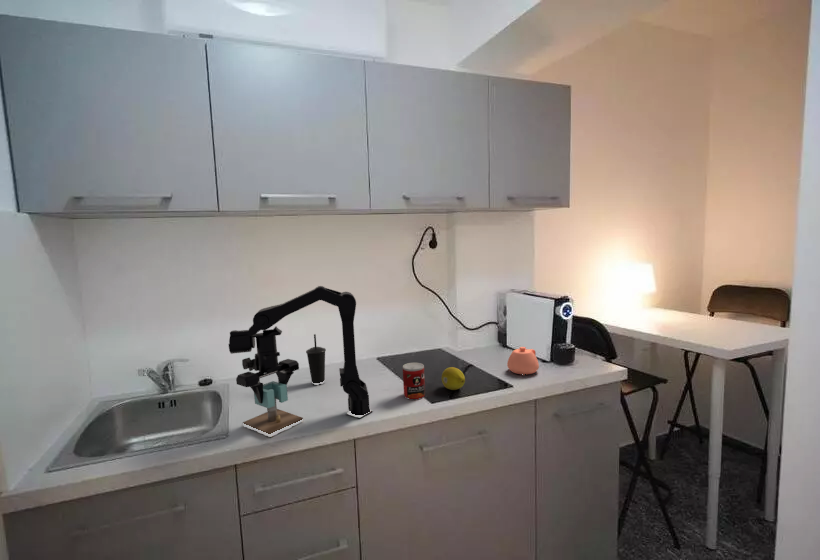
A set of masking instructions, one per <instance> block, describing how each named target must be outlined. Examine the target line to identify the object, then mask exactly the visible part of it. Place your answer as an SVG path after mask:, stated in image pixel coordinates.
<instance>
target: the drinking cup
mask: <svg viewBox="0 0 820 560" xmlns="http://www.w3.org/2000/svg"><path fill="white" fill-rule="evenodd" d="M316 336H317V335H316V333H314V334H313V339H314V340H313V342H314V346H312V347H311V348H308V349H306V351H305V353H306V355H307V362H308V367H309V372H310V379H311V383H312V382H313V383H320V382H323V381H324V380H325V379H326V378H325V377H326V376H325V375H326V373H325V371H326V348H325V347H322V346H317V337H316ZM325 381H326V380H325Z"/></svg>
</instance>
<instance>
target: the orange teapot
mask: <svg viewBox="0 0 820 560" xmlns="http://www.w3.org/2000/svg"><path fill="white" fill-rule="evenodd" d="M536 353H537V352H536V350H535V349H534V348H530V349H528V348H526V347H525V346H520V347H519V348H516V349H514V350H512V351H511V354H510V355H509V356H508V360H507V365H506V366H507V368H508V370H509V371H511V372H512V373H514V374H517V375H521V374H523V375H522V376H526V375H532V374H534V373H536V372H537V371H538V370H539V368H540V365H539V361H538V358H537V356H536ZM525 374H526V375H525Z"/></svg>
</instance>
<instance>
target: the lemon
mask: <svg viewBox="0 0 820 560" xmlns="http://www.w3.org/2000/svg"><path fill="white" fill-rule="evenodd" d="M440 377H441V383H442V384H443V386H444V387H445V388H446V389H448V390H451V391H456V390H460V389H461V388H462V387H464V385H465V383H466V377H465V374H464V373H463V371H461V370H460V369H459V368H457V367H453V366H451V367H447V368H446V369H444V370H443V371H442V374H441V376H440Z"/></svg>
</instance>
